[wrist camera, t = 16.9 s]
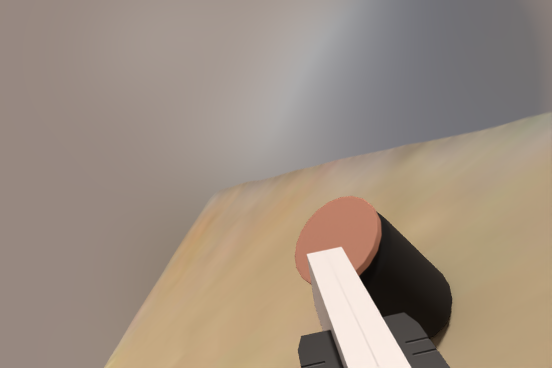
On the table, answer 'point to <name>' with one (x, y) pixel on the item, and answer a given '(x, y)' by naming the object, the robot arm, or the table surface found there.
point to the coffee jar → (378, 261)
